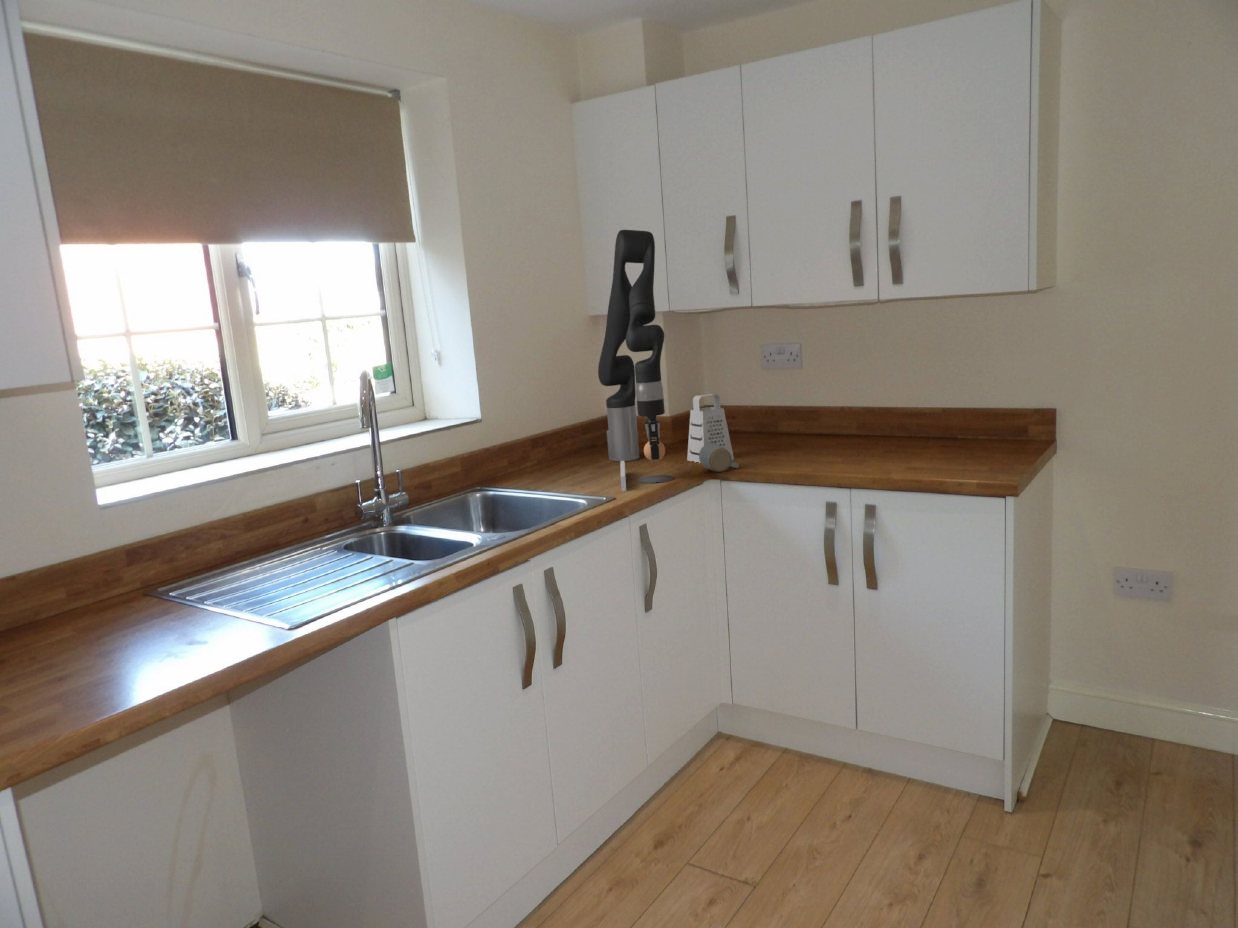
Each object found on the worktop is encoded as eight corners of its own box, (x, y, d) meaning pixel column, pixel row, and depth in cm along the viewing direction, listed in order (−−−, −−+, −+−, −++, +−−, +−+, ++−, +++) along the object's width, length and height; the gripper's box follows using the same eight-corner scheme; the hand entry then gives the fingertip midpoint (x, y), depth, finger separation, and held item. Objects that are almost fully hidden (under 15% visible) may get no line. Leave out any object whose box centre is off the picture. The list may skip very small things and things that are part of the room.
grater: (734, 459, 274) (730, 394, 270) (704, 464, 270) (699, 398, 266) (716, 455, 283) (711, 392, 280) (687, 460, 279) (682, 396, 276)
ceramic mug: (710, 474, 254) (708, 447, 253) (699, 470, 262) (697, 444, 260) (744, 470, 257) (743, 443, 256) (732, 465, 265) (731, 440, 263)
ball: (640, 462, 252) (638, 441, 251) (654, 458, 256) (652, 437, 255) (656, 463, 248) (654, 442, 247) (670, 459, 252) (668, 438, 251)
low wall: (621, 474, 265) (620, 461, 264) (625, 474, 265) (624, 460, 264) (621, 491, 242) (620, 476, 241) (626, 490, 241) (625, 476, 241)
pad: (630, 481, 253) (630, 480, 253) (654, 474, 260) (654, 473, 260) (656, 484, 246) (656, 483, 246) (680, 477, 253) (680, 476, 253)
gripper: (664, 399, 242) (669, 460, 245) (662, 394, 256) (666, 452, 259) (637, 401, 242) (642, 463, 245) (635, 396, 256) (640, 454, 259)
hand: (655, 457), depth 252 cm, fingers closed on ball, 6 cm apart
